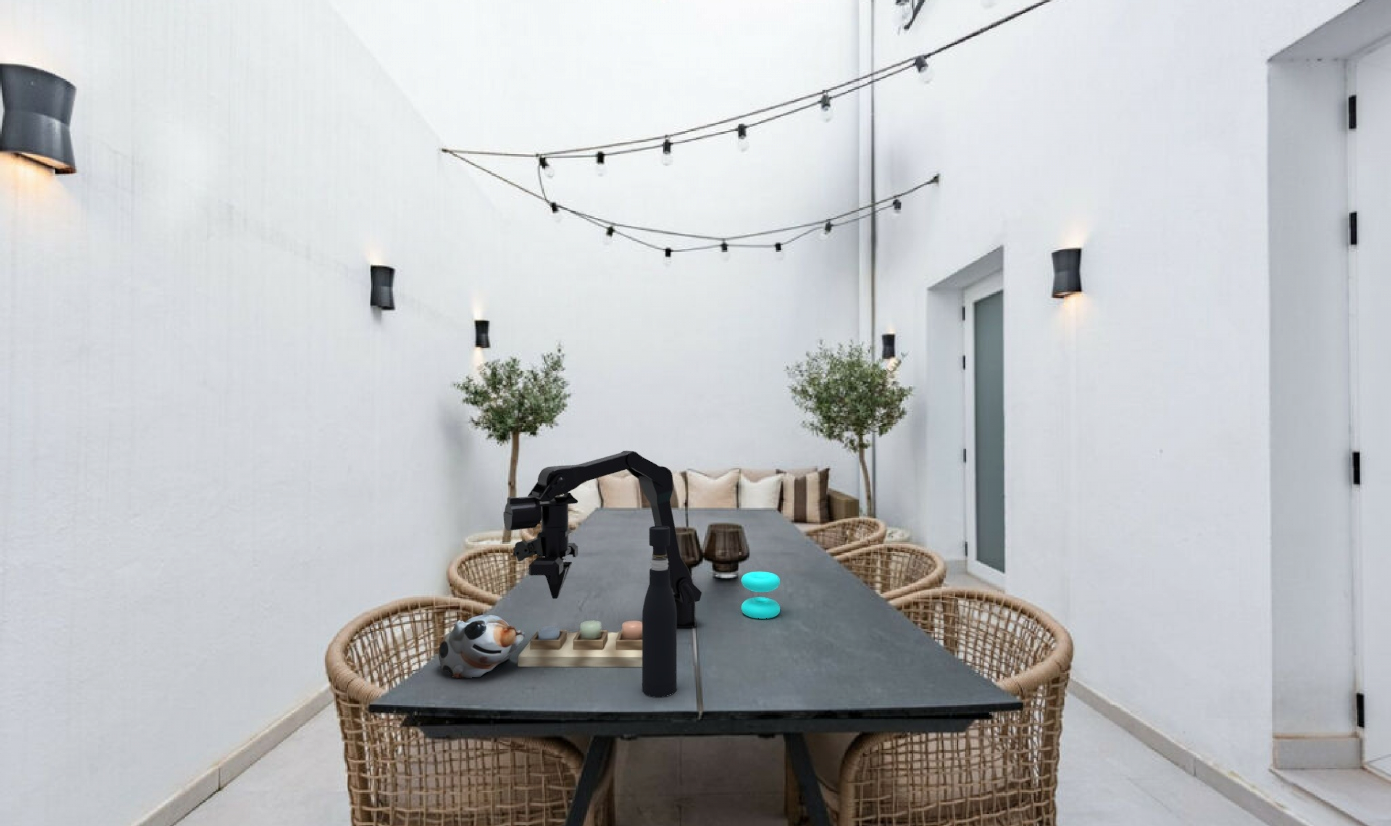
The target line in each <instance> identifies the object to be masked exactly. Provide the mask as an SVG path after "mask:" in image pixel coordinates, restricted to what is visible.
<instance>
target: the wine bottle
mask: <svg viewBox="0 0 1391 826" xmlns="http://www.w3.org/2000/svg"><path fill="white" fill-rule="evenodd" d="M648 530H649V531H648V539H649V540H648V542H649V546H650V547H652V558H651V560H650V567H651V568H650V569H649V572H648V573H649V580H648V581H649V584H648V587H647V591H646V594H645V597H644V600H643V606H642V612H641V622H642V667H641V685H642V686H641V690H642V691H641V692H644V693H643V694H645V695H647V696H649V695H650V696H649V697H653V696H655V697H654V698H663V697H662V696H664V697H668V696H667V695H669V696H671V695H673V694H675V693H676V692H677V690H678V689H677V687H678V686H677V684H678V683H677V680H678V679H677V678H678V675H677V673H678V671H677V666H678V664H677V662H678V661H677V656H678V655H677V654H678V653H677V652H678V651H677V649H678V648H677V645H678V644H677V643H678V642H677V641H678V640H677V635H678V634H677V633H678V631H677V629H678V628H677V610H676V604H675V599H674V595H673V592H672V589H671V586H670V569H669V568H668V559H667V558H664V557H666V556H667V554H666V546H669V545H670V527H668V526H655V525H654V526H649V529H648ZM674 692H675V693H674ZM672 693H673V694H672ZM670 694H671V695H670Z"/></svg>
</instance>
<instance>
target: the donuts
mask: <svg viewBox="0 0 1391 826" xmlns="http://www.w3.org/2000/svg"><path fill="white" fill-rule="evenodd" d="M740 582H741V584H742V586H743V587H744V588H745V589H747V590H749V591H752V592H756V593H766V592H767V593H768V592H772V591H774V590H776V589H778V588H779V586H780V584H781V579H780V577H779V575H777V574H775V573H774V572H773V573H772V572H768V571H750V572H746V573H745V574H743V576H742V577H741V581H740ZM740 608H741V612H742V613H743V614H744V615H745V616H746V617H748V618H752V619H758V618H759V620H764V619H765V620H766V618H767V619H772V618H775V617H776V616H778V615H779V614H780V612H781V606H780V604H779V603H778V602H777V600H775V599H773V598H769V597H764V596H755V597H749V598H747V599H746V600H744V601H743V603H742V604H741V607H740Z"/></svg>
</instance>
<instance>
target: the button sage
mask: <svg viewBox="0 0 1391 826" xmlns="http://www.w3.org/2000/svg"><path fill="white" fill-rule="evenodd" d="M579 628H580V629H579V630H580V637H581V638H583V639H596V638H599V637H600V636H601V630H602V622H601V621H599V620H593V619H592V620H585V621H583V622H581V623H580V627H579Z"/></svg>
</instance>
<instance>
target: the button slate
mask: <svg viewBox="0 0 1391 826" xmlns="http://www.w3.org/2000/svg"><path fill="white" fill-rule="evenodd" d="M560 630H561V629H560V627H559V626H556V625H545V626H543V627H540V628H539V629H538V630H537V631H538V640H558V639H559V637H560Z"/></svg>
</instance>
